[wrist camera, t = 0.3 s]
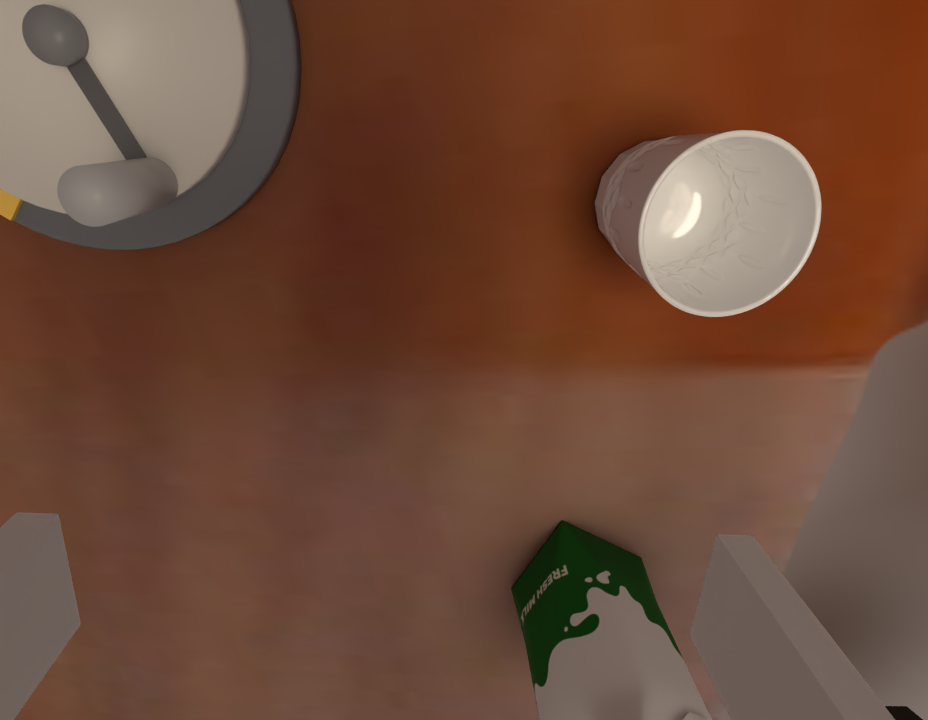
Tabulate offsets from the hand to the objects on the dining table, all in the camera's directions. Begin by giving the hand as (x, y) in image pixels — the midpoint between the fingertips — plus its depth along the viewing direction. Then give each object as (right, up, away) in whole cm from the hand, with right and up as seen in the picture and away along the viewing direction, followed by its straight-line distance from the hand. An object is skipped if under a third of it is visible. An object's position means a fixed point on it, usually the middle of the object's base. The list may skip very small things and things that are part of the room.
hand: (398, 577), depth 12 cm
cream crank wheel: (-17, +20, +16) cm, 31 cm away
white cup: (+12, +14, +23) cm, 29 cm away
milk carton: (+10, -11, +33) cm, 36 cm away
